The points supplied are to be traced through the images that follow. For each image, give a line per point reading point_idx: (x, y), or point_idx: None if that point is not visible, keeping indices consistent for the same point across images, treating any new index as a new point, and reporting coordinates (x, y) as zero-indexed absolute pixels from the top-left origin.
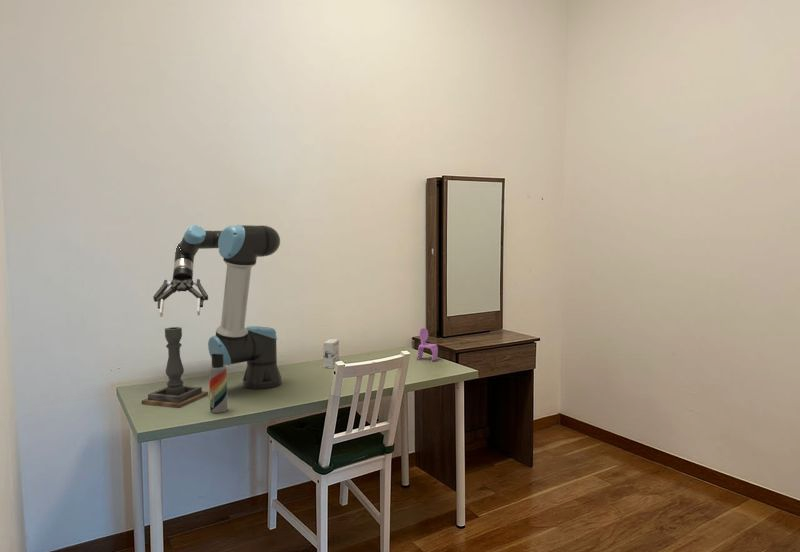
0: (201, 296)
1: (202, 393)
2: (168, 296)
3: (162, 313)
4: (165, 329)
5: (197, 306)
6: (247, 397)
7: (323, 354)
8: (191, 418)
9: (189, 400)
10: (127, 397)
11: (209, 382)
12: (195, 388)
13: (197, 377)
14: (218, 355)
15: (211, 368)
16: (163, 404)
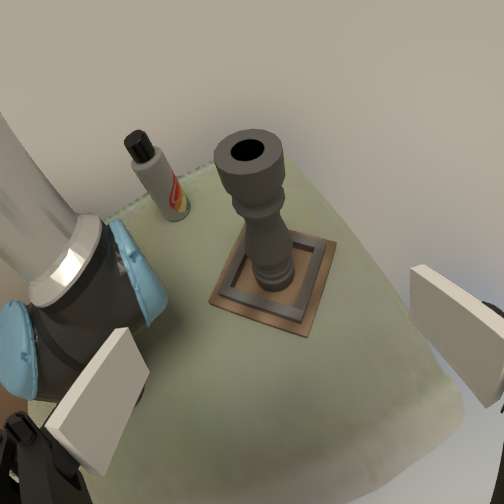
0: (21, 420)
1: (217, 289)
2: (495, 493)
3: (418, 314)
4: (273, 134)
5: (106, 354)
6: None
7: None
8: (215, 179)
9: (235, 244)
10: (391, 292)
11: (171, 169)
12: (229, 283)
13: (278, 470)
14: (133, 133)
15: (156, 148)
16: None
